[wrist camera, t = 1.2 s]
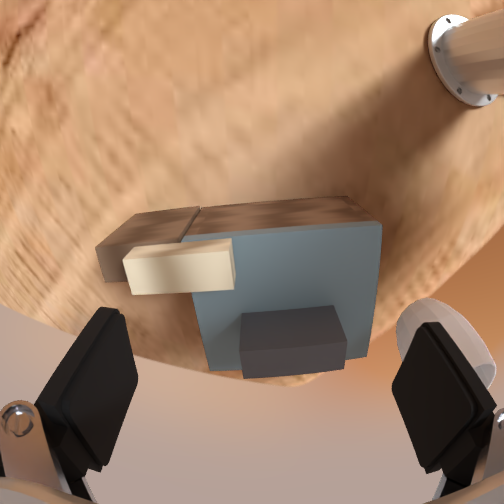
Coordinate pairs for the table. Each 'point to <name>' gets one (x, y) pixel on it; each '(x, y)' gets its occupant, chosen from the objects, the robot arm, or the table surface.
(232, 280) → the cream rectangular block
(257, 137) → the table surface
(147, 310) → the table surface
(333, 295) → the grey piece
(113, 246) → the brown wooden open box
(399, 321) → the cup
